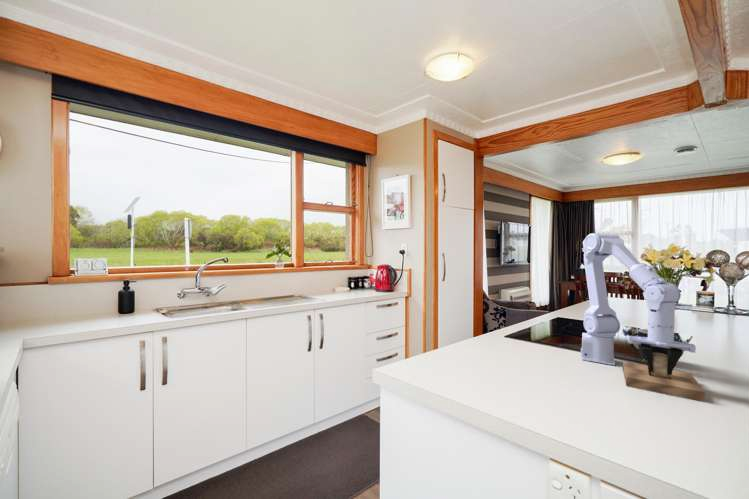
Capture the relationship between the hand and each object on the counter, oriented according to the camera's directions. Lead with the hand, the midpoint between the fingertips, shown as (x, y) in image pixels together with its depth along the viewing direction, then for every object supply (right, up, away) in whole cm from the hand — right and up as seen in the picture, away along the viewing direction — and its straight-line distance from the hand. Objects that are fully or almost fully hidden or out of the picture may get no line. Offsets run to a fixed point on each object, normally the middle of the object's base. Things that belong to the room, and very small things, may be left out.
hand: (659, 372), depth 95 cm
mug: (+15, -4, +21) cm, 26 cm away
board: (0, -3, 0) cm, 3 cm away
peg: (0, -3, 0) cm, 3 cm away
